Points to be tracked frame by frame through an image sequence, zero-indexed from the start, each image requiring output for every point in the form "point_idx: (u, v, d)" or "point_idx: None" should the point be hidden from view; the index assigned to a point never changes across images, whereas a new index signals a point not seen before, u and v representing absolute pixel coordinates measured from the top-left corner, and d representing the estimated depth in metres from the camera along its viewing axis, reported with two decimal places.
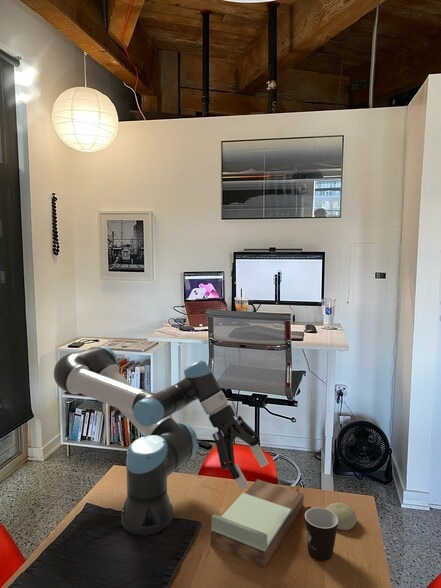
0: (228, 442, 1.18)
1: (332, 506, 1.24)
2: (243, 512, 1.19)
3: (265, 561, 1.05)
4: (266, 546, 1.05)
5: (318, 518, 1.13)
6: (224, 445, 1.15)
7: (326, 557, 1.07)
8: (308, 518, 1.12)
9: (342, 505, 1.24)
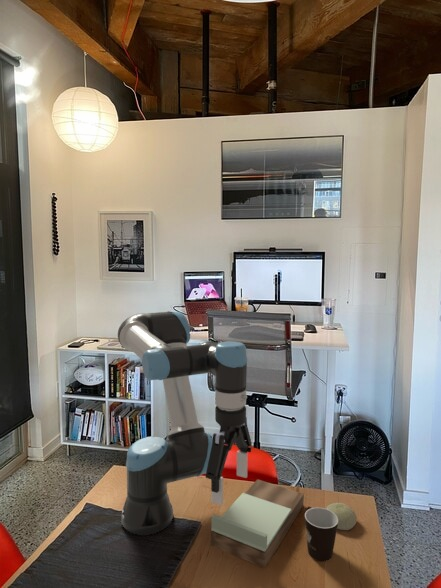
0: (224, 448, 0.98)
1: (332, 506, 1.24)
2: (243, 512, 1.19)
3: (265, 561, 1.05)
4: (266, 546, 1.05)
5: (318, 518, 1.13)
6: (220, 454, 0.95)
7: (326, 557, 1.07)
8: (308, 518, 1.12)
9: (342, 505, 1.24)
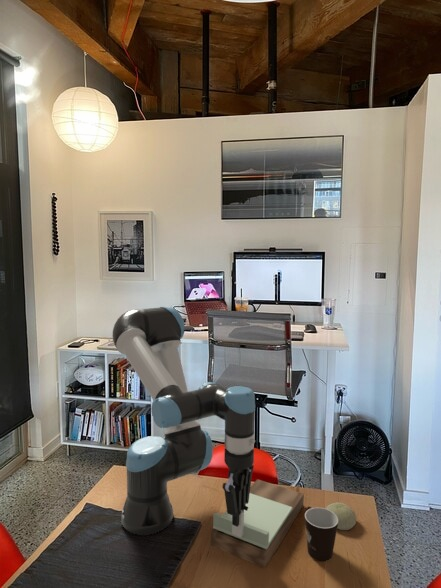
0: (237, 490, 1.05)
1: (332, 506, 1.24)
2: (245, 510, 1.20)
3: (265, 561, 1.05)
4: (268, 544, 1.06)
5: (318, 518, 1.13)
6: (234, 498, 1.03)
7: (326, 557, 1.07)
8: (308, 518, 1.12)
9: (342, 505, 1.24)
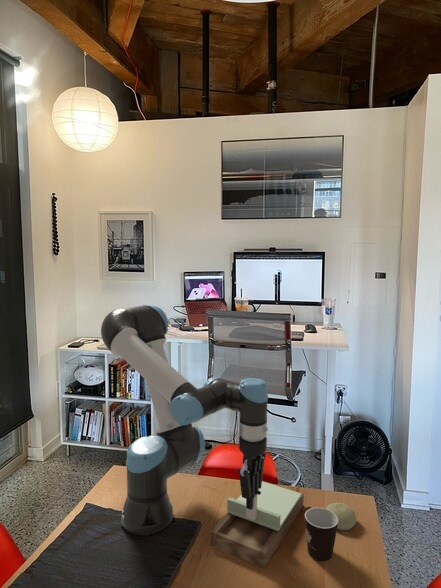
0: (251, 475, 1.12)
1: (332, 506, 1.24)
2: None
3: (265, 561, 1.05)
4: (279, 526, 1.13)
5: (318, 518, 1.13)
6: (249, 482, 1.10)
7: (326, 557, 1.07)
8: (308, 518, 1.12)
9: (342, 505, 1.24)
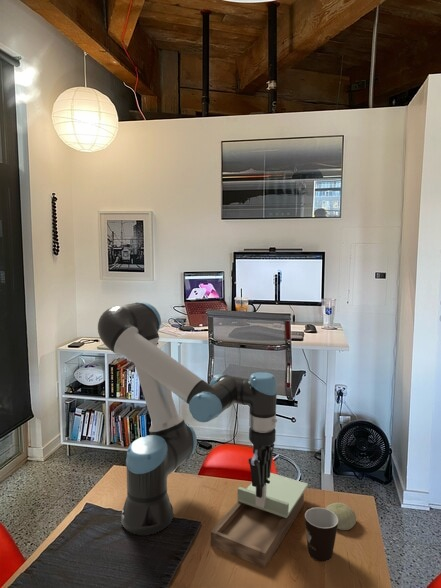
0: (260, 465, 1.18)
1: (332, 506, 1.24)
2: None
3: (265, 561, 1.05)
4: (288, 513, 1.19)
5: (318, 518, 1.13)
6: (259, 471, 1.15)
7: (326, 557, 1.07)
8: (308, 518, 1.12)
9: (342, 505, 1.24)
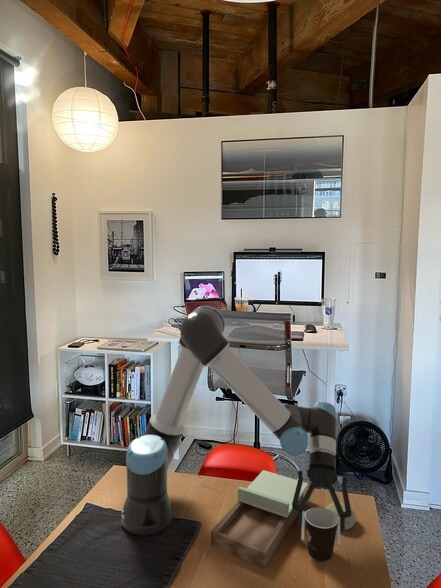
0: None
1: (332, 506, 1.24)
2: (265, 486, 1.32)
3: (265, 561, 1.05)
4: (288, 513, 1.19)
5: (318, 518, 1.13)
6: None
7: (326, 557, 1.07)
8: (308, 518, 1.12)
9: (342, 505, 1.24)
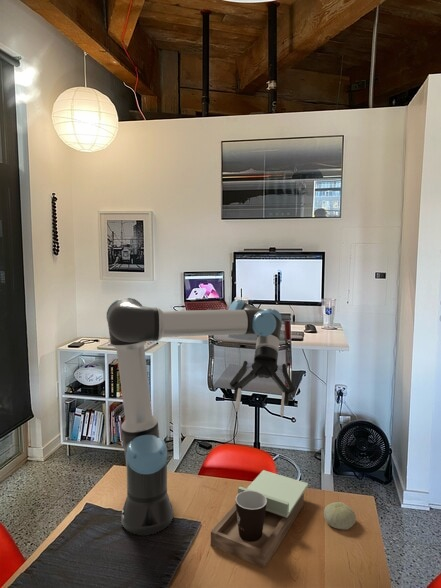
0: None
1: (331, 506, 1.24)
2: (265, 486, 1.32)
3: (265, 561, 1.05)
4: (288, 513, 1.19)
5: (250, 501, 1.18)
6: None
7: (254, 538, 1.12)
8: (240, 501, 1.16)
9: (341, 504, 1.24)
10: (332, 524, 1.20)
